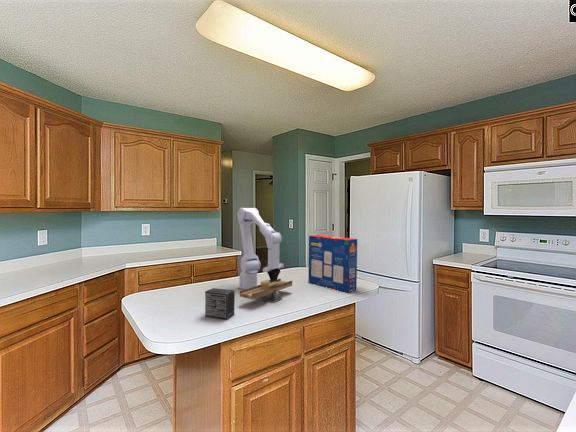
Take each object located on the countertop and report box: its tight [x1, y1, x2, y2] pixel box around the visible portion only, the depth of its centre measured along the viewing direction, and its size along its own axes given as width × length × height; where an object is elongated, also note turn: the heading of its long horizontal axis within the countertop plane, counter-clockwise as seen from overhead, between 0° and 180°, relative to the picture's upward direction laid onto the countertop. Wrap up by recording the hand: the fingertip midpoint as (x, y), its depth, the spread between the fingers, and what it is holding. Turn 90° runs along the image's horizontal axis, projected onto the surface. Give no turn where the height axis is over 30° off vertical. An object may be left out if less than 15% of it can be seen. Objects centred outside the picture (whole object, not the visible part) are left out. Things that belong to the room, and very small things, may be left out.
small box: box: [204, 287, 236, 321], centre depth 124 cm, size 11×6×10 cm, turn 71°
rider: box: [259, 279, 276, 289], centre depth 147 cm, size 5×6×3 cm
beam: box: [239, 278, 293, 301], centre depth 147 cm, size 8×31×2 cm, turn 146°
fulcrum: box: [256, 290, 283, 304], centre depth 147 cm, size 12×7×5 cm, turn 56°
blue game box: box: [307, 234, 358, 294], centre depth 170 cm, size 28×8×28 cm, turn 43°
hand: (273, 284), depth 150 cm, fingers closed
